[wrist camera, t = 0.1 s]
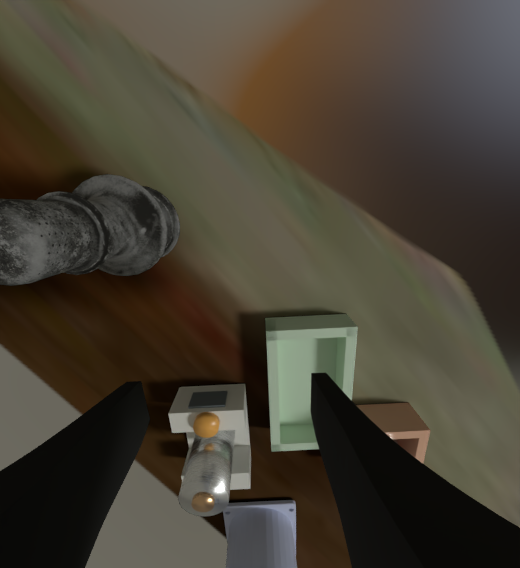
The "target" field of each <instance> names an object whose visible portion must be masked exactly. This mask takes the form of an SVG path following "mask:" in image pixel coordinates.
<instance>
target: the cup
mask: <svg viewBox="0 0 520 568" xmlns="http://www.w3.org/2000/svg"><path fill="white" fill-rule="evenodd" d="M356 406H357V407H358V408H359V409H360V410H361V411H362V412H363V413H364V414H365V415H366V416H367V417H368V418H369V419H370V420H371V421H372V422H374V423H375V424H376V425H377V426H378V427H379V428H380V429H381V430H382V431H383V432H384V433H386V434H387V435H388V436H389V437H390V438H391V439H396V441H397V442H398V444H399V445H400V446H401V447H402V448H403V449H405V450H406V451H407V452H408V453H410V454H411V455H412V456H413V457H415V458H416V459H417V460H419V461H420V462H421V463H423V462H424V458H425V453H426V448H427V444H428V439H429V434H430V429H429V428H428V427H427V425H426V424H425V423H424V422H423V420H422V419H421V418H420V416H419V415H418V414H417V413H416V411H415V410H414V409H413V407H412V406H411V405H410V404H409V403H390V404H369V405H356Z"/></svg>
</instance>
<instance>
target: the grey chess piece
mask: <svg viewBox="0 0 520 568" xmlns="http://www.w3.org/2000/svg"><path fill="white" fill-rule="evenodd" d="M179 234H180V223H179V218H178V214H177V212H176V210H175V208H174V206H173V205H172V204H171V203H170V201H169V200H168V199H167V198H166V197H165V196H164V195H162V194H161V193H160V192H158V191H156V190H154V189H151V188H149V187H144V186H141V185H139V184H138V183H137V182H134V181H132V180H130V179H127V178H125V177H123V176H116V175H109V174H106V175H99V176H94V177H92V178H90V179H87V180H85V181H83V182H82V183H81V184H80V185H79V186H78V187H77V188H76V189H75V190H74V191H73V193H68V192H60V191H58V192H52V193H47V194H45V195H43V196H41V197H39V198H38V199H37V200H20V199H0V284H1V285H10V286H12V285H22V284H29V283H32V282H35V281H38V280H41V279H44V278H47V277H50V276H53V275H57V274H60V273H63V272H64V273H67V274H75V275H80V274H87V273H90V272H92V271H94V270H96V269H100V270H102V271H104V272H107V273H110V274H113V275H121V276H130V275H137V274H140V273H142V272H144V271H147V270H149V269H150V268H151V267H152V266H153V265H155V264H156V263H157V262H158V261H159V259H160V258H161V257H163V256H165V255H166V254H168V253H169V252H170V251H171V250H172V249H173V248H174V246H175V245H176V243H177V241H178V237H179Z"/></svg>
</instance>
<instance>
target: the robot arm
mask: <svg viewBox="0 0 520 568" xmlns="http://www.w3.org/2000/svg"><path fill="white" fill-rule="evenodd" d="M310 412H311V417H312V422H313V427H314V432H315V436H316V440H317V443H318V446H319V450H320V453H321V456H322V459H323V462H324V465H325V469H326V472H327V475H328V478H329V481H330V484H331V488H332V491H333V494H334V497H335V500H336V504H337V507H338V511H339V514H340V518H341V522H342V526H343V530H344V535H345V539H346V543H347V547H348V552H349V556H350V560H351V565H352V568H520V528H519V527H518V526H516V525H514V524H513V523H511V522H509V521H507V520H506V519H504V518H502V517H501V516H499V515H498V514H496V513H494V512H493V511H491V510H490V509H488V508H487V507H485V506H484V505H482V504H480V503H479V502H477V501H476V500H474V499H473V498H471V497H470V496H468V495H467V494H465V493H464V492H462V491H461V490H459V489H458V488H456V487H455V486H453V485H452V484H450V483H449V482H447V481H446V480H445V479H443V478H442V477H441V476H439V475H438V474H436V473H435V472H434V471H432V470H431V469H429V468H428V467H427V466H425V465H424V464H423V463H421V462H420V461H419V460H417V459H416V458H415V457H413V456H412V455H411V454H410V453H408V452H407V451H406V450H405V449H403V448H402V447H401V446H400V445H398V444H397V443H396V442H395V441H394V440H392V439H391V438H390V437H389V436H388V435H387V434H386V433H384V432H383V431H382V430H381V429H380V428H379V427H378V426H377V425H376V424H375V423H374V422H372V421H371V420H370V419H369V418H368V417H367V416H366V415H365V414H364V413H363V412H362V411H361V410H360V409H359V408H358V407H357V406H356V405H355V404H354V403H353V402H352V401H351V400H350V398H349V397H348V396H347V395H346V394H345V393H344V392H343V391H342V390H341V389H340V388H339V386H338V385H337V384H336V383H335V382H334V381H333V380H332V379H331V377H330V376H329V375H328V374H327V373H326V372H325V373H311V411H310ZM149 421H150V417H149V413H148V409H147V404H146V400H145V396H144V392H143V387H142V383H141V381H138V382H126V383H125V384H123V385H122V386H120V387H119V388H118V389H116V390H115V391H113V392H112V393H111V394H109V395H108V396H107V397H106V398H104V399H103V400H102V401H100V402H99V403H98V404H96V405H95V406H94V407H92V408H91V409H90V410H88V411H87V412H86V413H84V414H83V415H82V416H80V417H79V418H78V419H76V420H75V421H74V422H72V423H71V424H70V425H68V426H67V427H66V428H64V429H63V430H61V431H60V432H58V433H57V434H56V435H54V436H53V437H51V438H50V439H48V440H47V441H46V442H44V443H43V444H42V445H40V446H38V447H37V448H36V449H34V450H33V451H31V452H30V453H28V454H26V455H25V456H23V457H22V458H20V459H19V460H17V461H16V462H14V463H13V464H11V465H9V466H8V467H6V468H5V469H3V470H2V471H0V568H85V566H86V563H87V561H88V559H89V556H90V554H91V551H92V549H93V546H94V544H95V541H96V539H97V536H98V534H99V531H100V529H101V527H102V525H103V522H104V520H105V518H106V516H107V514H108V512H109V509H110V507H111V505H112V503H113V501H114V499H115V497H116V495H117V493H118V491H119V489H120V487H121V485H122V483H123V481H124V479H125V477H126V475H127V473H128V471H129V469H130V467H131V465H132V463H133V461H134V459H135V457H136V455H137V453H138V450H139V448H140V446H141V444H142V441H143V438H144V436H145V433H146V430H147V427H148V424H149ZM223 515H224V522H225V529H226V536H227V543H228V548H227V559H226V568H297V563H296V504H295V501H293V500H279V501H258V502H238V503H228V505H227V507H226V508H225V509H224V510H223Z"/></svg>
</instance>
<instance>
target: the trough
mask: <svg viewBox="0 0 520 568" xmlns="http://www.w3.org/2000/svg"><path fill="white" fill-rule="evenodd" d="M265 325H266V347H267V369H268V391H269V413H270V433H271V449H272V451H291V450H311V449H319V446H318V443H317V440H316V436H315V432H314V427H313V422H312V417H311V412H310V411H311V373H325V372H326V373H327V374H328V375H329V376H330V377H331V379H332V380H333V381H334V382H335V383H336V384H337V385H338V386H339V388H340V389H341V390H342V391H343V392H344V393H345V394H346V395H347V396H348V397H349V398H350V400H351V401H352V390H353V378H354V366H355V354H356V342H357V330H358V327H357V325H356V324H355V323H354V322H353V321H352V320H351V318H350V317H349V316H348V315H347V314H334V315H314V316H294V317H274V318H265Z"/></svg>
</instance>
